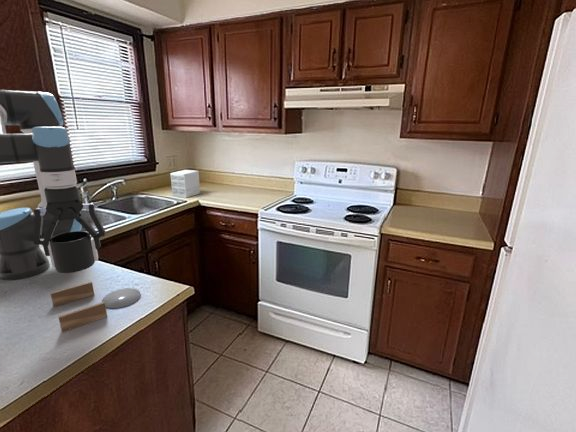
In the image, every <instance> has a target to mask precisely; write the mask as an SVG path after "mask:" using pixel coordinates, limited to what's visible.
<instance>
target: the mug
mask: <svg viewBox="0 0 576 432" xmlns="http://www.w3.org/2000/svg"><path fill="white" fill-rule="evenodd" d="M91 238H92V237H91V235H90V234H89V233H88V232H87V231H86V230H85V231H84V230H81V231H73V232H67V233H62V234H59V235H56V236H53V237H52V238H50V240H49V243H50V247H51V251H52V256H53V260H54V264H55V267H54V268H55V271H56V272H58V273H60V274H71V273H73V274H74V273H77V272H81V271H85V270H87V269H89V268H91V267H92V266H93V265H95V262H96V261H95V260H94V255H93V249H92V244H91Z"/></svg>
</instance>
